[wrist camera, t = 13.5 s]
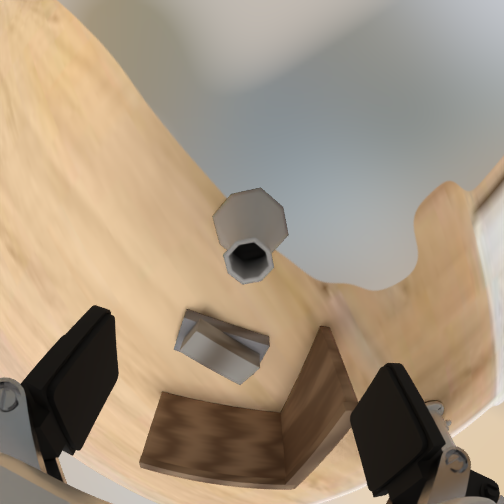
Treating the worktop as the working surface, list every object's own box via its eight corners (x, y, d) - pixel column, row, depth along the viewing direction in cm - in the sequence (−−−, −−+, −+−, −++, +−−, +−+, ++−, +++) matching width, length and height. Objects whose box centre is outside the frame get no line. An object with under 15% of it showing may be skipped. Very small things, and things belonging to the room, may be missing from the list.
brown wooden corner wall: (331, 327, 32) (363, 410, 19) (287, 419, 37) (294, 489, 25) (168, 296, 30) (126, 374, 18) (162, 397, 36) (140, 467, 24)
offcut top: (259, 353, 31) (259, 367, 28) (240, 371, 32) (240, 385, 29) (200, 317, 29) (196, 330, 27) (183, 338, 30) (179, 351, 28)
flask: (200, 212, 27) (172, 243, 18) (263, 174, 26) (269, 184, 17) (238, 271, 29) (231, 325, 20) (300, 237, 28) (322, 279, 19)
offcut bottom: (268, 333, 33) (269, 346, 30) (253, 362, 34) (253, 375, 32) (188, 306, 31) (183, 317, 29) (178, 337, 33) (173, 349, 31)
